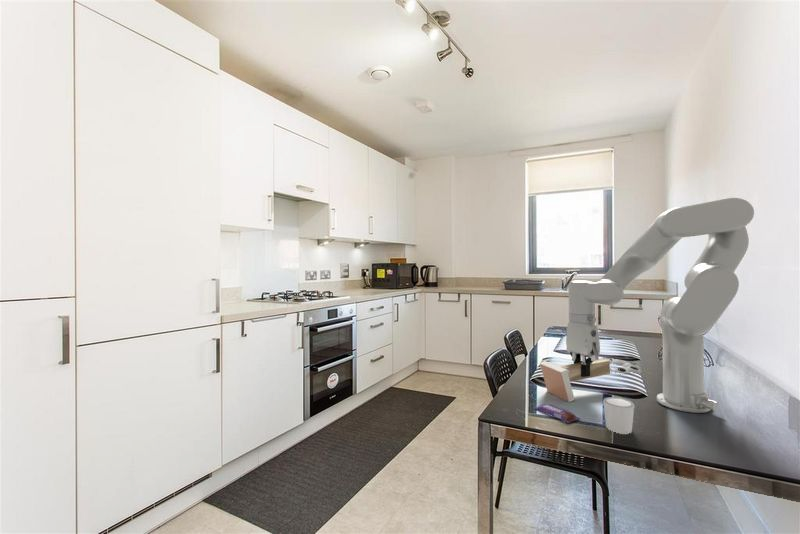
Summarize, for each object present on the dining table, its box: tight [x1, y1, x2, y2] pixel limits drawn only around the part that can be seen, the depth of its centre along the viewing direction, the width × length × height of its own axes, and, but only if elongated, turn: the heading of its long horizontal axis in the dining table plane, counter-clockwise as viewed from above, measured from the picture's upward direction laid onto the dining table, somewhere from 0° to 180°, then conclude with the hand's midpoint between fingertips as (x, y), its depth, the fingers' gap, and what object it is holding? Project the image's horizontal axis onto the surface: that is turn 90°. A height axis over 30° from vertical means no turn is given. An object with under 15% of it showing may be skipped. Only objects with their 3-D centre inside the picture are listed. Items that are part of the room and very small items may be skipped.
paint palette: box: [599, 357, 642, 374], centre depth 143 cm, size 20×20×2 cm
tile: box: [539, 360, 575, 403], centre depth 115 cm, size 10×2×10 cm, turn 17°
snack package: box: [534, 403, 581, 424], centre depth 102 cm, size 12×2×5 cm
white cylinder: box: [602, 396, 635, 435], centre depth 93 cm, size 7×7×7 cm
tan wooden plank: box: [555, 358, 611, 383], centre depth 118 cm, size 7×19×4 cm, turn 107°
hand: (581, 374), depth 118 cm, fingers closed on tan wooden plank, 2 cm apart
